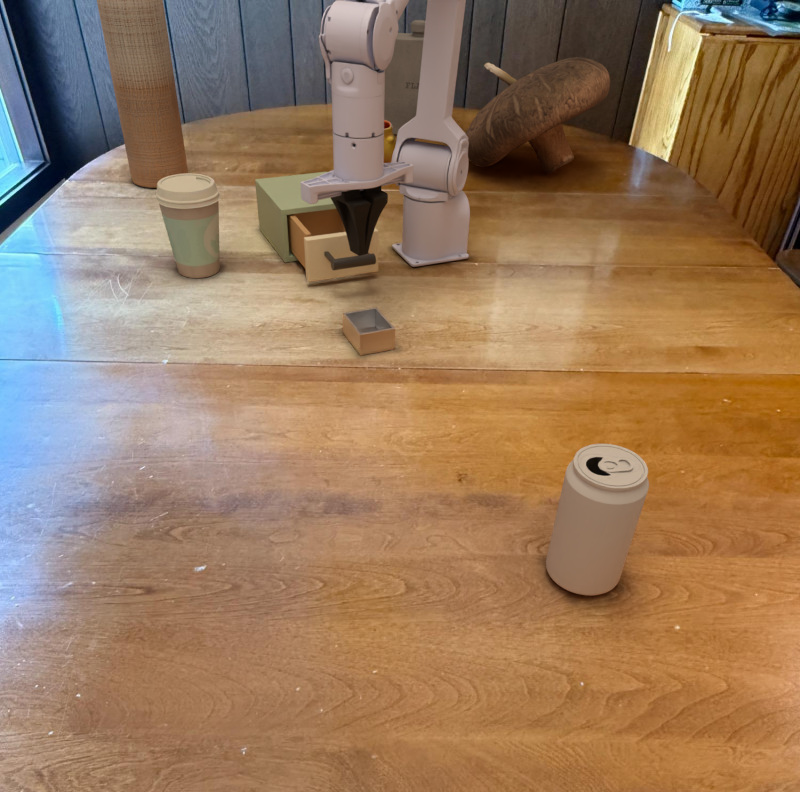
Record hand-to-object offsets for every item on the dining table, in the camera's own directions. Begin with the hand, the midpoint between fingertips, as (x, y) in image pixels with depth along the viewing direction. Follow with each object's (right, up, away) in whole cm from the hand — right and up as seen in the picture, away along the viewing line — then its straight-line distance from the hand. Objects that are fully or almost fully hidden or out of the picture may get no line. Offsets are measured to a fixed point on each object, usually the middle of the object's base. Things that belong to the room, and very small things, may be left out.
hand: (359, 252), depth 95 cm
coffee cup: (-24, +3, +16) cm, 29 cm away
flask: (+8, +51, +70) cm, 86 cm away
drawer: (-4, +4, +16) cm, 17 cm away
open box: (+1, -11, +2) cm, 11 cm away
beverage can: (+21, -38, -28) cm, 52 cm away
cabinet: (-9, +11, +25) cm, 29 cm away
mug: (+1, +39, +57) cm, 69 cm away
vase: (-38, +29, +44) cm, 64 cm away
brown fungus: (+30, +35, +54) cm, 71 cm away
